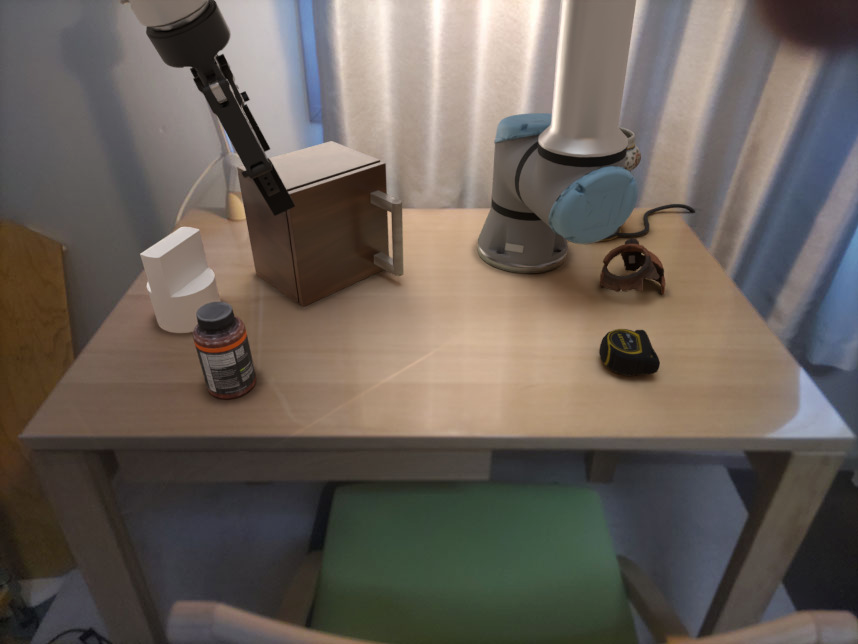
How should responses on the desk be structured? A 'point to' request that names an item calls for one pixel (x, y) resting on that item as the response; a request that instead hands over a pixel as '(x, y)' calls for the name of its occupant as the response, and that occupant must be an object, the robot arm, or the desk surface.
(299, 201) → the cabinet door
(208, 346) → the supplement bottle
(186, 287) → the base with upright slab
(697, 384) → the desk surface
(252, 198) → the cabinet
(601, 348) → the tape measure
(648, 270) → the brown hollow curved shell
